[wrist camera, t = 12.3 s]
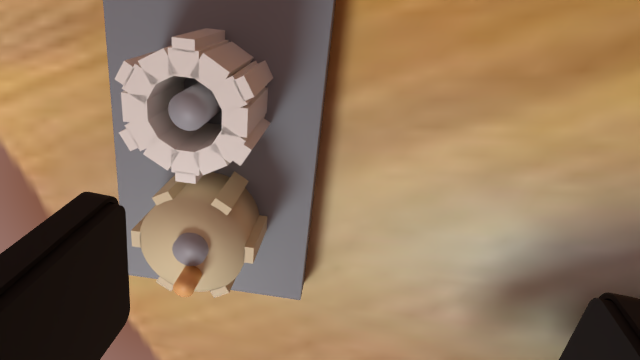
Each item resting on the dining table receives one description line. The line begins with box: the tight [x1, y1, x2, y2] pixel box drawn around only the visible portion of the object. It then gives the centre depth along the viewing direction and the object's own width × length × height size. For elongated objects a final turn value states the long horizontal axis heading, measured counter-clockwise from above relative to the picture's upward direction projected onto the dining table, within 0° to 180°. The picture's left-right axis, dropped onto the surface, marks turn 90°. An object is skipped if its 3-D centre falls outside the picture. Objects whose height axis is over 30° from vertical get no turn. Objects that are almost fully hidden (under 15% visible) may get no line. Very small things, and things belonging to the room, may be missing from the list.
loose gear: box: [115, 28, 273, 184], centre depth 25 cm, size 7×7×5 cm
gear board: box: [103, 0, 336, 300], centre depth 27 cm, size 22×13×8 cm, turn 174°
